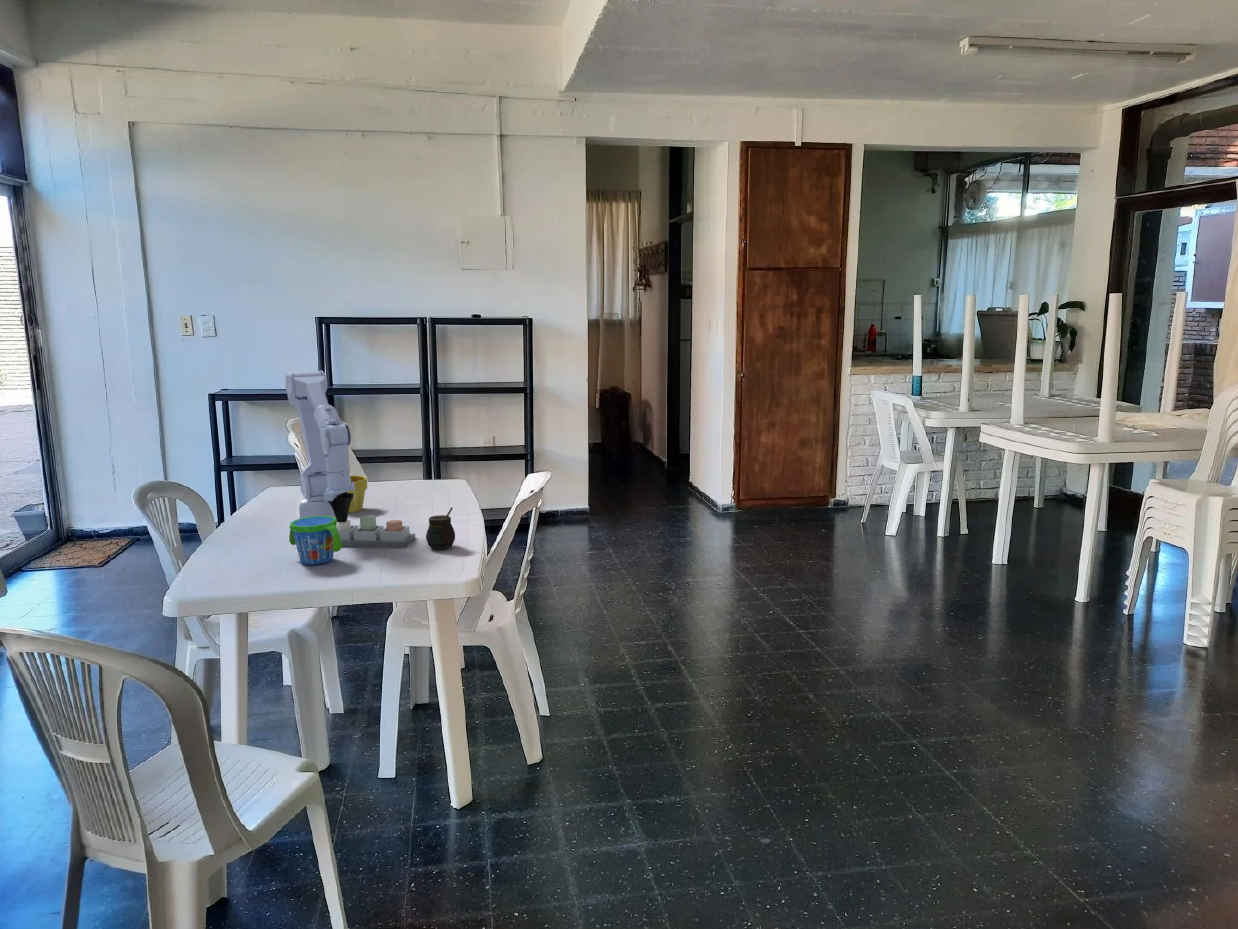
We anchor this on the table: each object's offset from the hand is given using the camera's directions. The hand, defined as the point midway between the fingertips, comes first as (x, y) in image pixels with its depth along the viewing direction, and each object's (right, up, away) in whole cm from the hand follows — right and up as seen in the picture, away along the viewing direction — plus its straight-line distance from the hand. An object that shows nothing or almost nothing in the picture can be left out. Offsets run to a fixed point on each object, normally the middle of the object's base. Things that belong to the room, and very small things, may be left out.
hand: (342, 521), depth 218 cm
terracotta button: (+14, -4, -1) cm, 15 cm away
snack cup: (-1, -9, -16) cm, 18 cm away
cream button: (0, -4, +1) cm, 4 cm away
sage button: (+7, -3, 0) cm, 7 cm away
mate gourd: (+27, -6, -5) cm, 28 cm away
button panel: (+7, -5, 0) cm, 9 cm away
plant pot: (-9, +1, +36) cm, 38 cm away
